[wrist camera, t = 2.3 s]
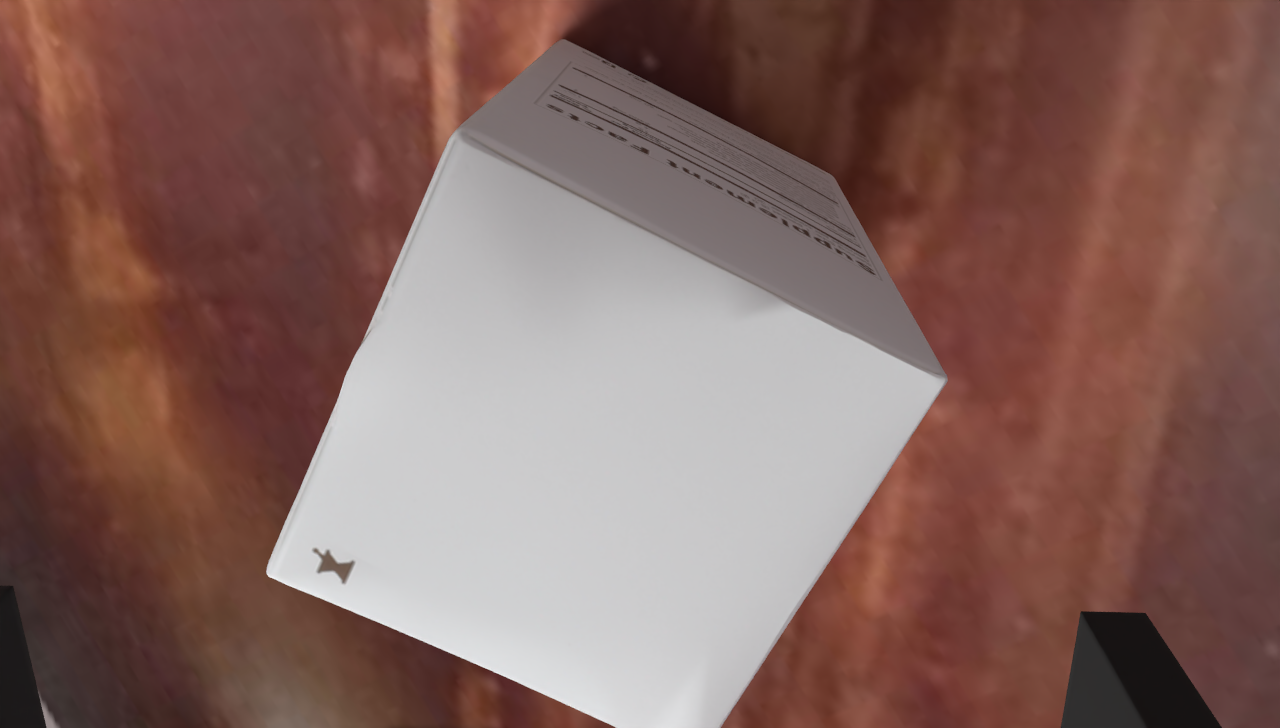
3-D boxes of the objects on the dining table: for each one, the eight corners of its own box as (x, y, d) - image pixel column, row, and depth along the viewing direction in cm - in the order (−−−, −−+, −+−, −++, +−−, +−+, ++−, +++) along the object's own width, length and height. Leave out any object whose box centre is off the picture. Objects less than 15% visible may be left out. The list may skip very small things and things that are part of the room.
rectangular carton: (697, 435, 35) (699, 785, 21) (430, 307, 33) (243, 588, 20) (848, 176, 31) (970, 383, 17) (560, 25, 30) (445, 119, 16)
